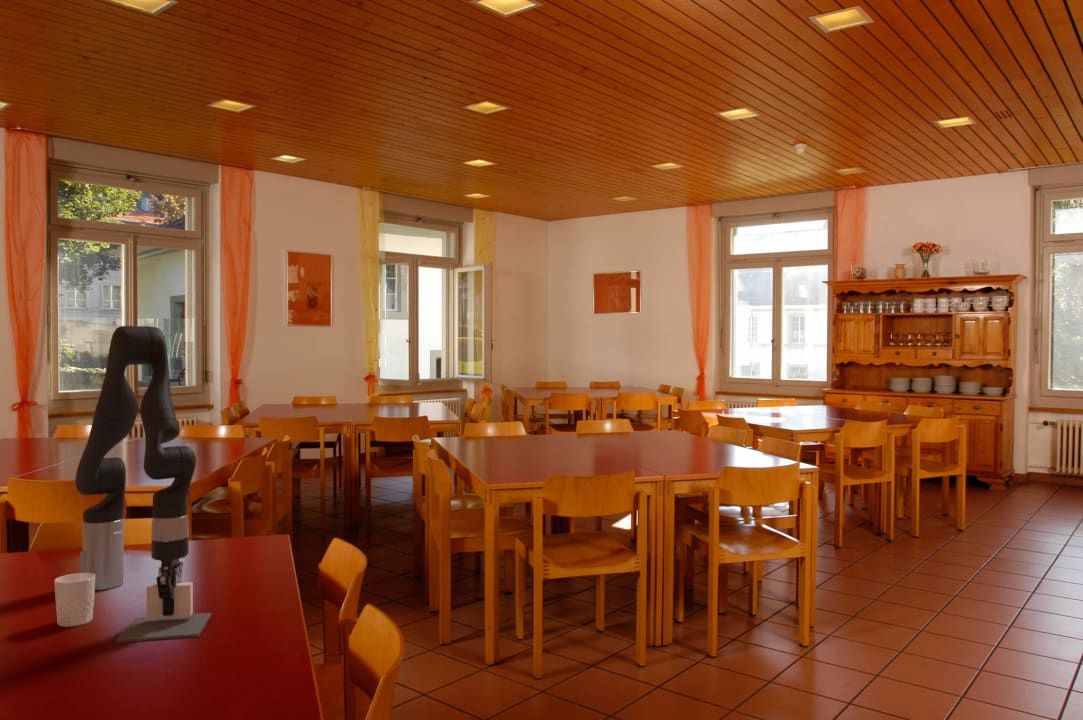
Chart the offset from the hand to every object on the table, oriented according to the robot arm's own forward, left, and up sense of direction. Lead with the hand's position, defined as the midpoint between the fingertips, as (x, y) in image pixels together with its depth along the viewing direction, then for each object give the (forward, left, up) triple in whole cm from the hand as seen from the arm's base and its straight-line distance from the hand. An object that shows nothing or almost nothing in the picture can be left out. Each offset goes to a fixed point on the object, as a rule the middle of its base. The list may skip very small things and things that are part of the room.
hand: (170, 612), depth 172 cm
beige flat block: (0, 0, -1) cm, 1 cm away
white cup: (-21, +6, -3) cm, 22 cm away
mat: (0, -3, -2) cm, 4 cm away
